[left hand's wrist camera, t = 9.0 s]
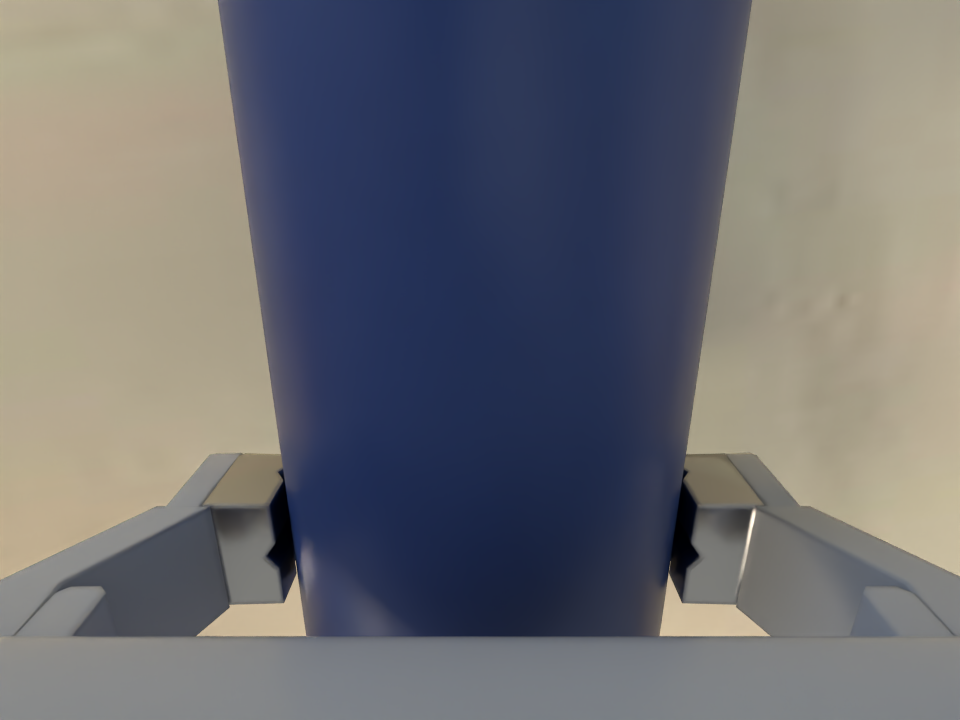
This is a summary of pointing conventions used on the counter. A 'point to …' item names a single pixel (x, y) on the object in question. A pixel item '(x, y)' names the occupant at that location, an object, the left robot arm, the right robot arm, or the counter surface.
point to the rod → (484, 296)
